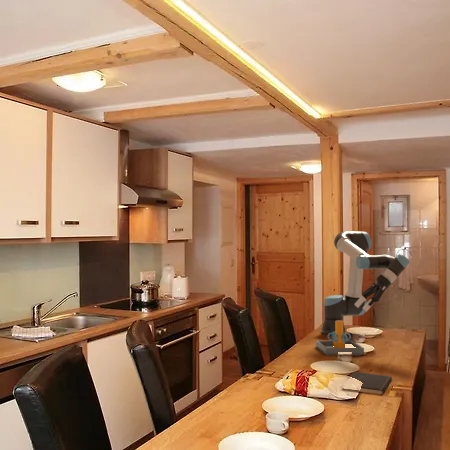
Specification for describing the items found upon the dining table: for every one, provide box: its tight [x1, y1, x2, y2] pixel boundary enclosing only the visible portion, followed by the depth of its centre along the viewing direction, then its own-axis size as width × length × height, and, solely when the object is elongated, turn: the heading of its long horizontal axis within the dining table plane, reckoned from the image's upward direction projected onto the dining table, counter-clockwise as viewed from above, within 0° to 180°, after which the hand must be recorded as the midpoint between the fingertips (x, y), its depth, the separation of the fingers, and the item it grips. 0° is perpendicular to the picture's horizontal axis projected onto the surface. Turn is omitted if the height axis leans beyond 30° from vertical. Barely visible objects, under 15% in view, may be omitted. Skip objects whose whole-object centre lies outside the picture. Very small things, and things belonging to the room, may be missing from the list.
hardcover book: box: [349, 371, 393, 395], centre depth 216 cm, size 16×23×2 cm
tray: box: [315, 339, 365, 356], centre depth 280 cm, size 20×20×4 cm
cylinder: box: [327, 320, 352, 348], centre depth 280 cm, size 12×10×15 cm
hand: (360, 308), depth 282 cm, fingers open, 13 cm apart
